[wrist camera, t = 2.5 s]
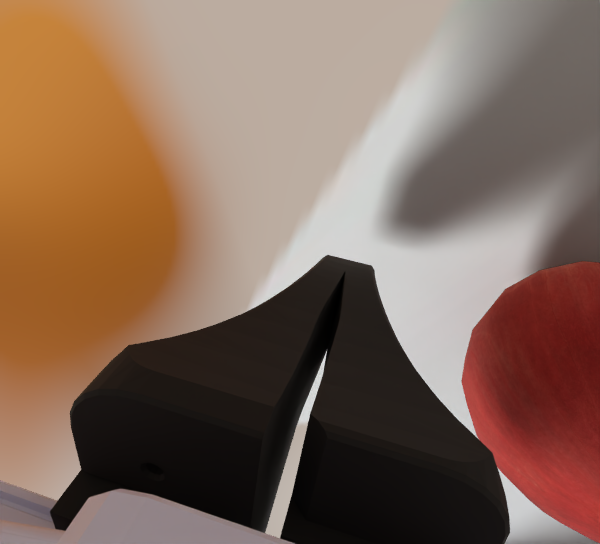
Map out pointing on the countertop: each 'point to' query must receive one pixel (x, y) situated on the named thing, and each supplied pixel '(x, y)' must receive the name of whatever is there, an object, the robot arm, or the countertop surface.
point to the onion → (543, 390)
